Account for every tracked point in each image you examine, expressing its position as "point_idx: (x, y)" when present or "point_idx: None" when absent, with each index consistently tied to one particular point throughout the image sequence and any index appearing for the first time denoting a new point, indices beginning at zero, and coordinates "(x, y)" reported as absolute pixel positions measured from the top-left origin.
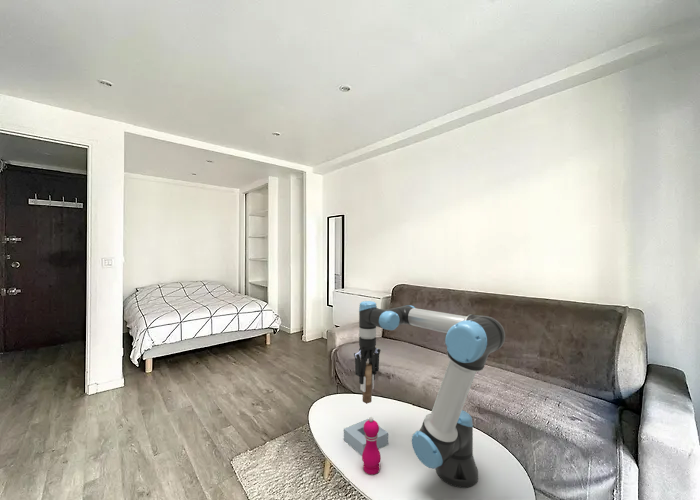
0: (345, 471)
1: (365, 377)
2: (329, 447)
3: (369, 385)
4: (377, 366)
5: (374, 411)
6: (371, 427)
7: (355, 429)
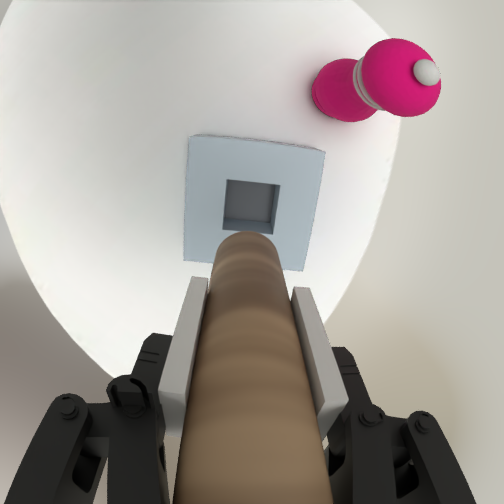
0: (393, 146)
1: (325, 395)
2: (351, 254)
3: (262, 303)
4: (52, 459)
5: (110, 297)
6: (431, 58)
7: (275, 240)
